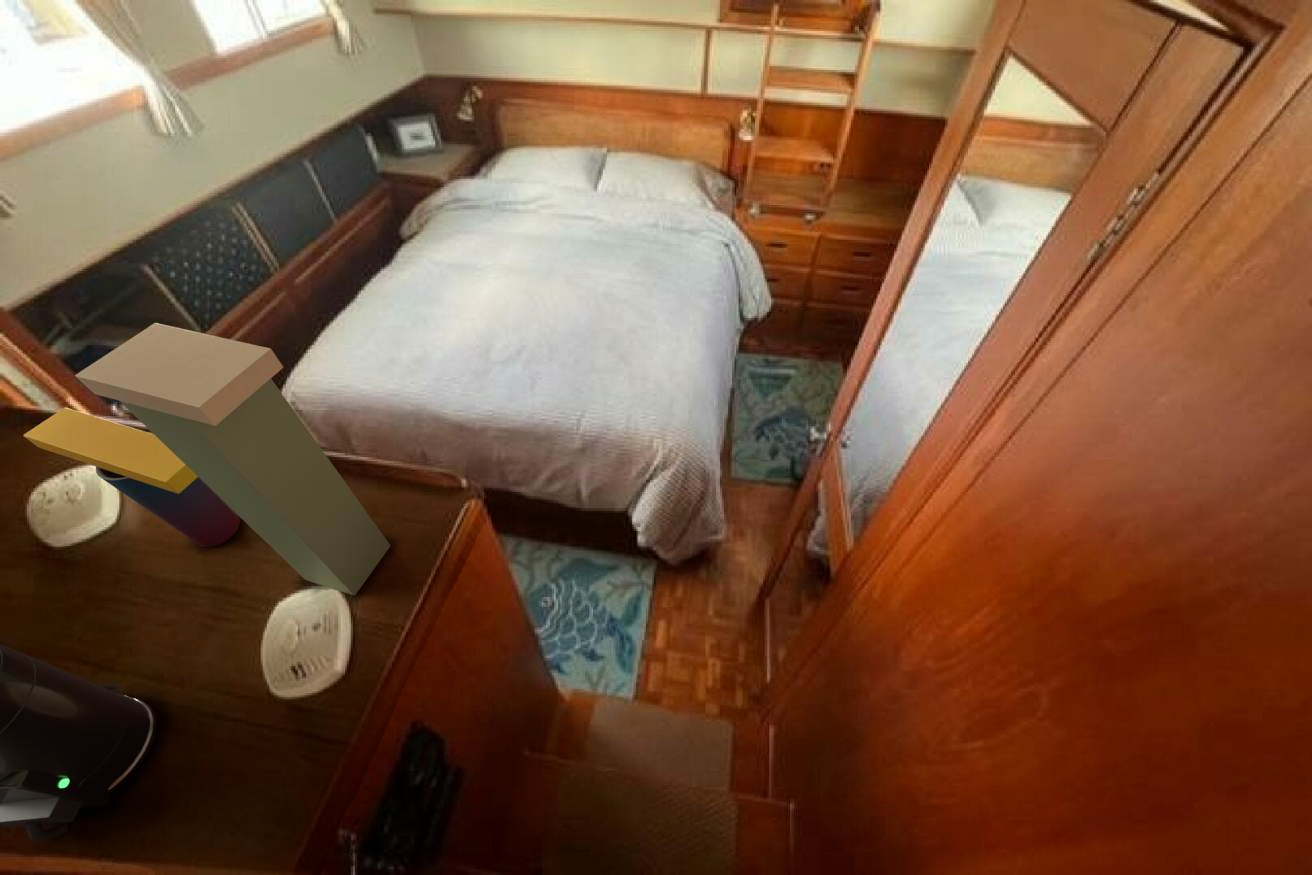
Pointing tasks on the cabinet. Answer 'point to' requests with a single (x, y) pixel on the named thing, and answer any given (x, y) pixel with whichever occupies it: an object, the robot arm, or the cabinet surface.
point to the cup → (182, 507)
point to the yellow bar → (112, 448)
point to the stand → (244, 446)
